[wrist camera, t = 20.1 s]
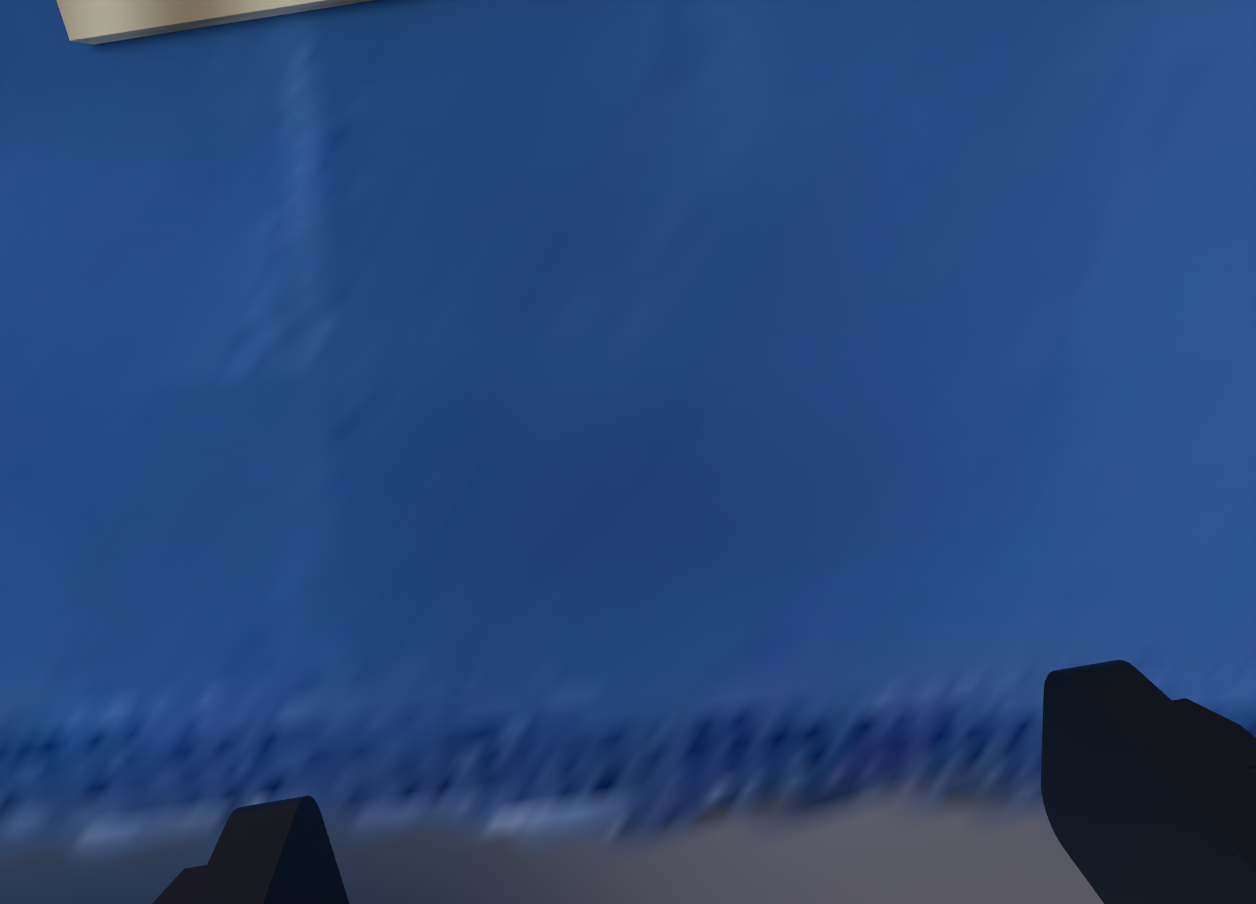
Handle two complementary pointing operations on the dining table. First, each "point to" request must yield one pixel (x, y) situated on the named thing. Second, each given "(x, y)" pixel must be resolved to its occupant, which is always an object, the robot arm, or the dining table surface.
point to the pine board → (169, 15)
